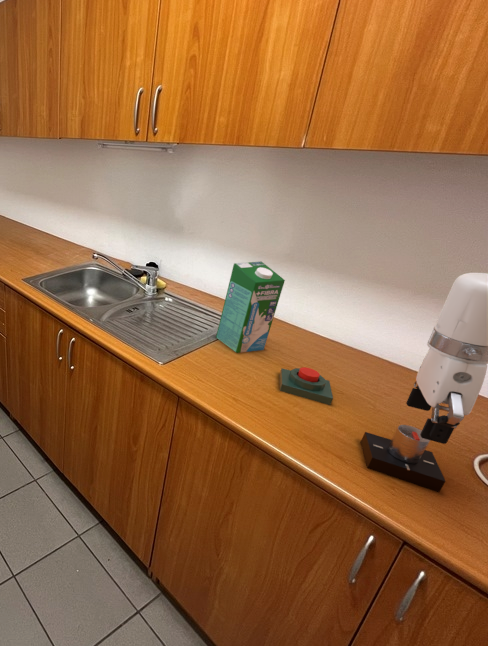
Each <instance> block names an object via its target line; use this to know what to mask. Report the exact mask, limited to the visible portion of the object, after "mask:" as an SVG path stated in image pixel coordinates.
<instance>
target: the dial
mask: <svg viewBox="0 0 488 646" xmlns="http://www.w3.org/2000/svg"><path fill="white" fill-rule="evenodd" d="M421 431H422V429H420V428H417V427H415V426H412V425H408V424H400V425H398V426H397V428H396V429H395V432H394V433H393V436H392V438H391V442H390V444H389V446H388V448H387V449H388V451H389V453H390V454H391V455H393V456H394V457H396V458H397V459H399V460H401V461H404V462H407V463H412V464H415V463H418V462H419V460H420V458H421V456H422V454H423V453H424V451H425V450H427V447H428V445H429V444H430V442H431V440H428V439H424V438H422V437H421V435H420V434H421Z"/></svg>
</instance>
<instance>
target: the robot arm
mask: <svg viewBox="0 0 488 646" xmlns="http://www.w3.org/2000/svg"><path fill="white" fill-rule="evenodd" d="M426 345H427V347H428V348H429V349H428V350H427V352H426V354H425V356H424V358H423V360H422V361H421V364H420V366H419V368H418V371H417V372H416V373H417V374H416V377H415V378H416V379H415V382H414V383H413V388H412V389H411V390H410V393H409V396H408V398H407V400H406V402H405V404H406V406H407V407H409V408H413V409H418V410H422V411H424V412H425V411H426V412H428V411H430V410H431V416H430V418H427V419H426V421H425V423H424V425H423V427H422V429H421V430H422V431H421V434H420V435H421V437H422V438H424V439H428V440H430V442H431V441H432V442H435V443H439V444H442V445H445V444H447V443H448V442H449V439H450V437H451V436H452V434H453V432H454V431H455V429H456V428H457V427H458V426H459V425H460V424H461V422H462V421H463V420H464V419H465V416H469V415H470V414H471V412H472V411H473V409H474V406H475V404H476V402H477V399H478V397H479V394H480V392H481V389H482V387H483V384H484V381H485V378H486V374H487V369H488V272H466V273H463V274H460V275H459V276H457V277H456V278H455V279H454V281H453V283H452V286H451V288H450V290H449V292H448V295H447V297H446V299H445V301H444V304H443V306H442V308H441V310H440V313H439V315H438V318H437V319H436V322H435V324H434V327H433V329H432V331H431V333H430V335H429V338H428V340H427V343H426ZM441 404H444V405H447V406H444V405H441ZM440 411H443V412H447V414H446V415H445V414H443V415H440Z"/></svg>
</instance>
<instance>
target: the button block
mask: <svg viewBox="0 0 488 646" xmlns="http://www.w3.org/2000/svg"><path fill="white" fill-rule="evenodd" d="M300 368H301V367H298V368H297V367H295V368H293V369H291V370H290V369H286V368H282V367H281V369H280V372H279V375H278V377H279V392H283V393H287V394H290V395H293V396H295V397H300V398H302V399H303V398H304V399H307V400H310V401H314V402H317V403H321V404H324V405H328V406H331V405H332V403H333V400H334V396H333V391H332V387H331V382H330V381H331V380H328V379H325V378H324V377H323V376H322V375H321V374H320V376H319V379H318V381H317V382H309V381H306V380H304V379H302V378H300V377H299V376H298V373H299V370H300Z"/></svg>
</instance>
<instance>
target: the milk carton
mask: <svg viewBox="0 0 488 646" xmlns="http://www.w3.org/2000/svg"><path fill="white" fill-rule="evenodd" d="M285 281H286V279H284V278H283V277H282V276H280V275H279V274H278V273H277V272H275V271H274V270H273V269H272V268H271V267H269V266H268V265H267V264H265V262H263V261H249V262H237V263H235V262H234V263H233V266H232V269H231V274H230V278H229V282H228V286H227V291H226V295H225V298H224V302H223V307H222V311H221V315H220V320H219V323H218V327H217V331H216V335H215V338H216V339H218V340H219V341H220V342H222V343H223V344H224V345H225V346H227V347H228V348H229V349H230V350H231V351H234V352H235V353H236V354H239V353H248V352H258V351H264V350H265V347H266V344H267V340H268V338H269V334H270V331H271V328H272V324H273V321H274V317H275V314H276V311H277V308H278V304H279V301H280V298H281V295H282V292H283V288H284V285H285Z"/></svg>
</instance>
